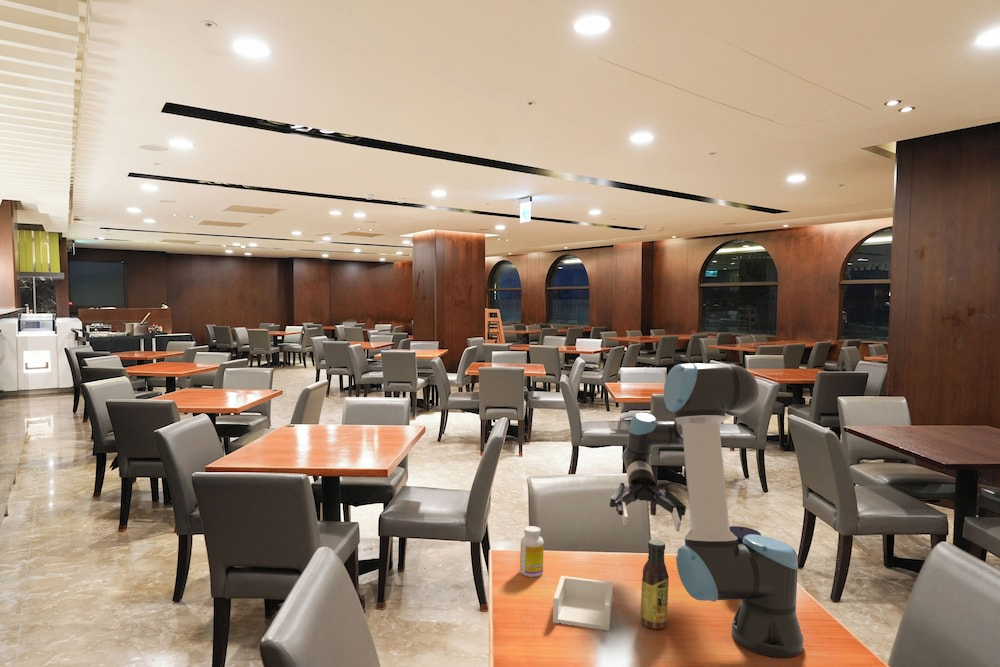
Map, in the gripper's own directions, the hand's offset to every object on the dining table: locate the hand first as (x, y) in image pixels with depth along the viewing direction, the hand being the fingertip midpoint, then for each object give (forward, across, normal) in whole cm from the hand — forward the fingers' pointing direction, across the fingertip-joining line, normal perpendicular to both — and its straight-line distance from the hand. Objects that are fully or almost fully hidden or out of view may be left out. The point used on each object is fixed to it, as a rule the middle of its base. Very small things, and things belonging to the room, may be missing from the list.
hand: (652, 524), depth 155 cm
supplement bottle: (-8, +29, -26) cm, 40 cm away
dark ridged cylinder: (-8, -29, -23) cm, 38 cm away
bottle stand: (+14, +16, -19) cm, 28 cm away
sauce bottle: (+16, 0, -17) cm, 24 cm away
